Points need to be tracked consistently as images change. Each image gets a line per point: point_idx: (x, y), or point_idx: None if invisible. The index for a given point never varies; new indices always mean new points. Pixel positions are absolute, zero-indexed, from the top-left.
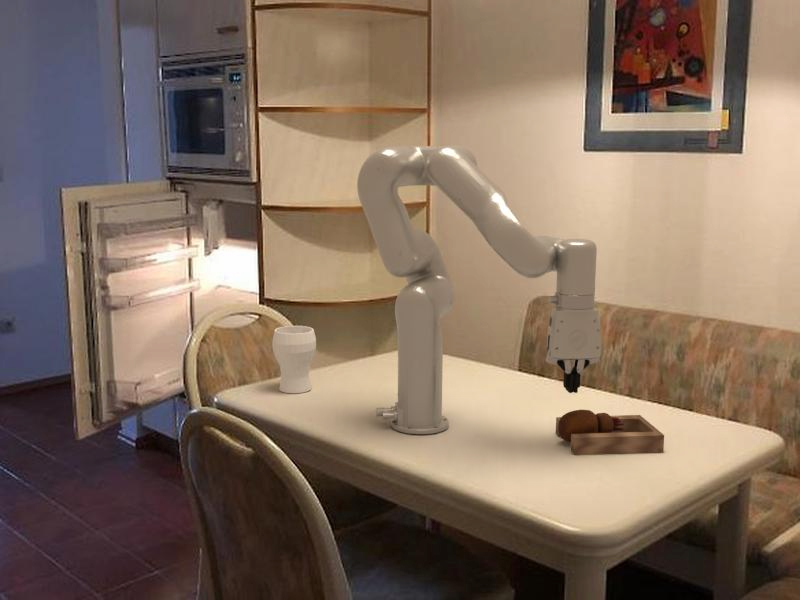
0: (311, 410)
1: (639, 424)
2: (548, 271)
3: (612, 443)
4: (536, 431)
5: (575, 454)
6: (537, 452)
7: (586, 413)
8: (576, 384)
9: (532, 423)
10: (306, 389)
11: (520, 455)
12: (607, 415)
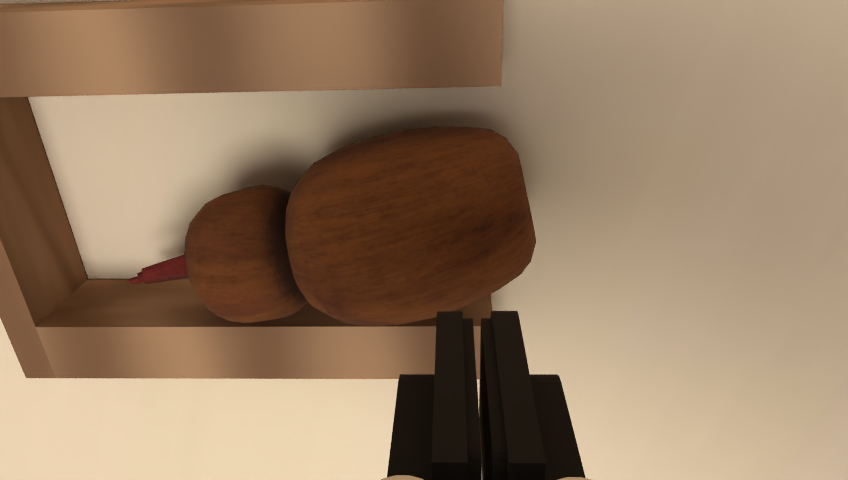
0: None
1: (47, 296)
2: None
3: (243, 1)
4: (571, 353)
5: None
6: (693, 52)
7: (358, 237)
8: (451, 363)
9: None
10: None
11: (818, 6)
12: (207, 266)
